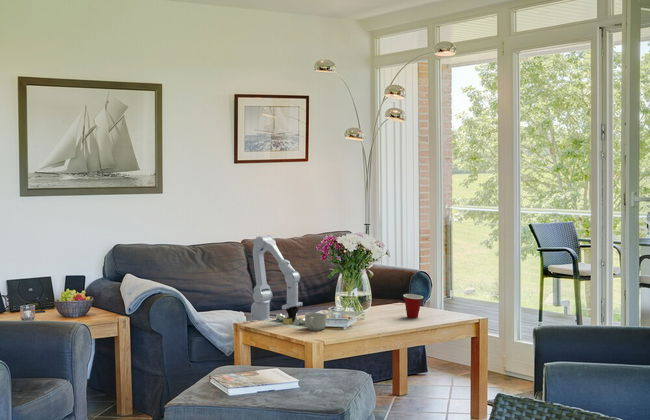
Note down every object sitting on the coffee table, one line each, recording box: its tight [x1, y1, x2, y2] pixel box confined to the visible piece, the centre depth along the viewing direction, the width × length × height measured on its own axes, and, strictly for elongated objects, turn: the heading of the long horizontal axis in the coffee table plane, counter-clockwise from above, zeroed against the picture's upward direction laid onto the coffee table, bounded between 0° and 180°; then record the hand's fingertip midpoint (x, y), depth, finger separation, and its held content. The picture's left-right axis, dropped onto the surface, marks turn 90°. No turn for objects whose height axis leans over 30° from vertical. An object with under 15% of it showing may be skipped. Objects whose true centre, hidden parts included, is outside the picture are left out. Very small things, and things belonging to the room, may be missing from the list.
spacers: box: [275, 313, 305, 325], centre depth 442 cm, size 24×13×3 cm, turn 53°
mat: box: [262, 318, 307, 330], centre depth 438 cm, size 24×20×1 cm
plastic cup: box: [403, 293, 424, 319], centre depth 461 cm, size 11×11×12 cm
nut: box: [283, 317, 292, 325], centre depth 435 cm, size 5×4×3 cm
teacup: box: [304, 312, 328, 332], centre depth 422 cm, size 14×11×8 cm
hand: (292, 321), depth 438 cm, fingers closed
